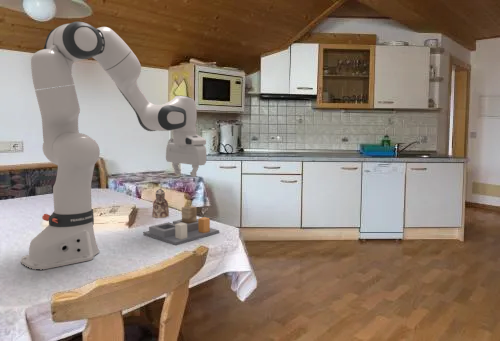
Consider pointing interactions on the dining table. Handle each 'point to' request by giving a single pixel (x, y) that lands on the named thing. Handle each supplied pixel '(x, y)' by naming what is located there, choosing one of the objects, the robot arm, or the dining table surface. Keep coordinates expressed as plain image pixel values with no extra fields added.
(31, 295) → the dining table surface
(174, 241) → the socket board
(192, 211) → the wood plug
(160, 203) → the figurine
